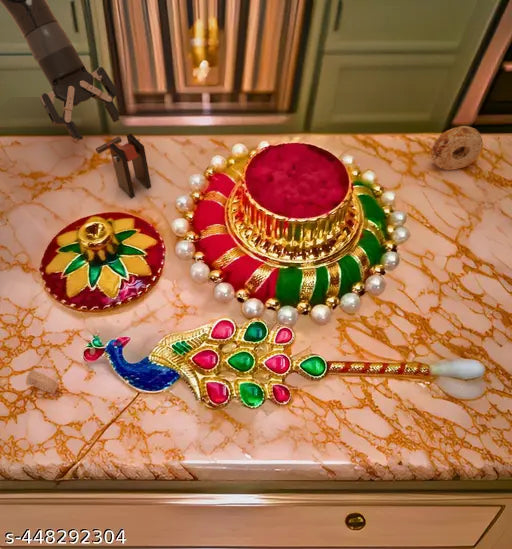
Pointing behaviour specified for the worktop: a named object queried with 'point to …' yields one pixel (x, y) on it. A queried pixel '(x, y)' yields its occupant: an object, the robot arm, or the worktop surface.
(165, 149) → the worktop surface
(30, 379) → the beige block
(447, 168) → the stone disc
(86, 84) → the robot arm
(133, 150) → the latch lever
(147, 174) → the latch bracket
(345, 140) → the worktop surface
